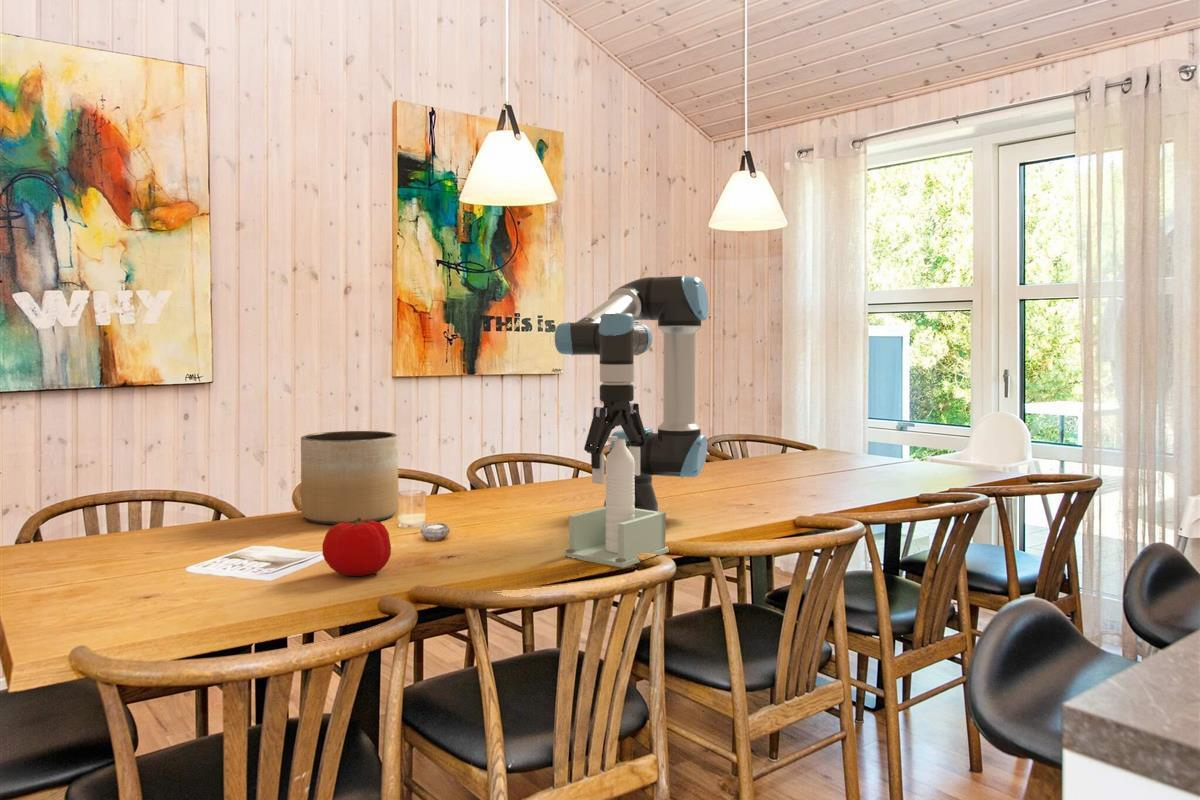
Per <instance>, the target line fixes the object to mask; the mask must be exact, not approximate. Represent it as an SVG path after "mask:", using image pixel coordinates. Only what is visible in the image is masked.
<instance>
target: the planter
mask: <svg viewBox="0 0 1200 800" xmlns="http://www.w3.org/2000/svg"><path fill="white" fill-rule="evenodd" d="M398 455H399V454H398V435H397V434H396V433H394V432H389V431H381V430H380V431H377V430H347V431H346V430H345V431H327V432H316V433H310V434H306V435H303V436H301V437H300V471H301V472H300V474H301V475H300V497H301V498H300V503H301V504H300V506H301V515H302V517H303V518H304V519H306V520H307V521H310V522H311V523H317V524H323V525H336V524H339V523H340V522H345V521H354V520H355V519H357V518H361V519H369V520H373V521H376V522H380V521H383V520H386V519H389V518H391V517H393V516H394V515H395V514H396V513H397V512H398V511H399V509H398V498H399V499H400V497H399V496H400V494H399V493H400V492H399V461H398V460H399V459H398V458H399V457H398Z"/></svg>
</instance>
